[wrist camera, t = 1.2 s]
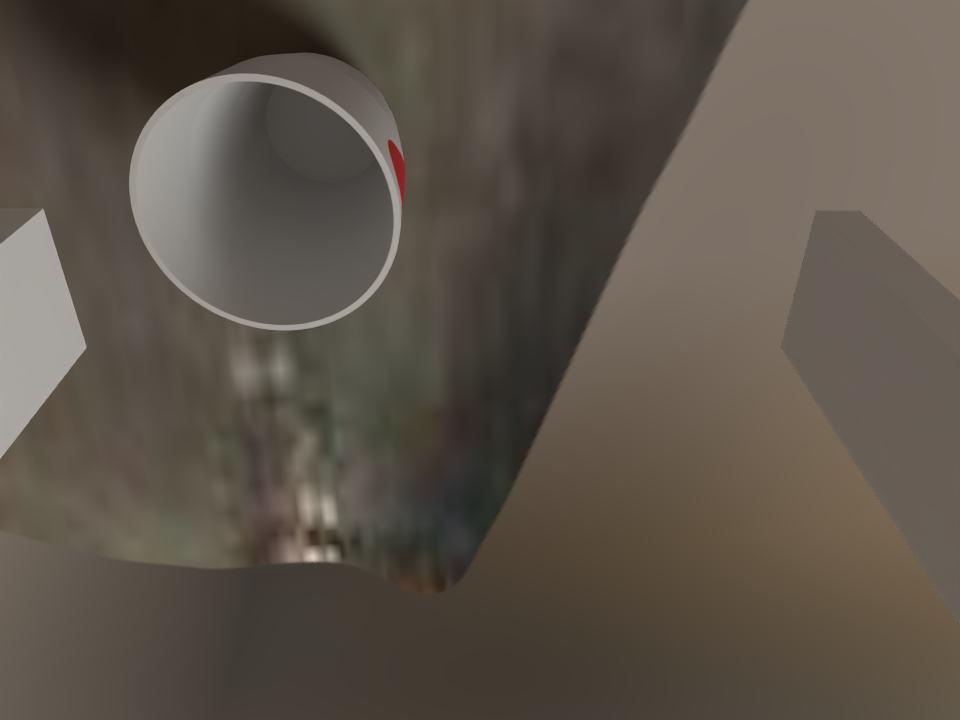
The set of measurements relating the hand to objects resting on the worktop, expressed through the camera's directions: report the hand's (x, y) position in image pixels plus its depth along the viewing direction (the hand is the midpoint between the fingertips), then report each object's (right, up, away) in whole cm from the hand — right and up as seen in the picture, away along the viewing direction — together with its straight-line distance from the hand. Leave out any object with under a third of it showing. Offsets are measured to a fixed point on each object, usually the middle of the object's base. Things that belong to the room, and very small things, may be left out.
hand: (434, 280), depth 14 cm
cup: (-6, +8, +18) cm, 21 cm away
